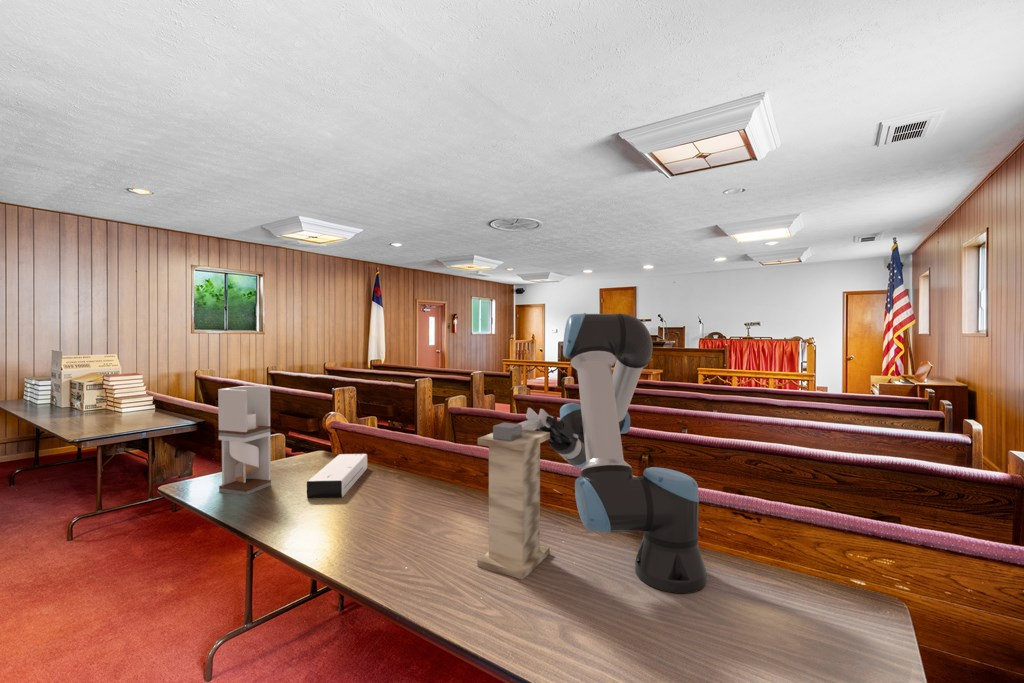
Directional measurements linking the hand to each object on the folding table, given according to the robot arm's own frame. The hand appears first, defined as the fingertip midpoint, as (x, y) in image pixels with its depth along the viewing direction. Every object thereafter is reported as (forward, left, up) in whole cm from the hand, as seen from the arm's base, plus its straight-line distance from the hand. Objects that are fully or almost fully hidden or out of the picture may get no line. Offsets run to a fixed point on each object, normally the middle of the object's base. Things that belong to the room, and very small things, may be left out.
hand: (534, 413), depth 120 cm
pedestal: (-3, +10, -34) cm, 35 cm away
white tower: (+96, +48, -34) cm, 112 cm away
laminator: (+82, +20, -34) cm, 91 cm away
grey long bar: (-1, +4, -4) cm, 6 cm away
